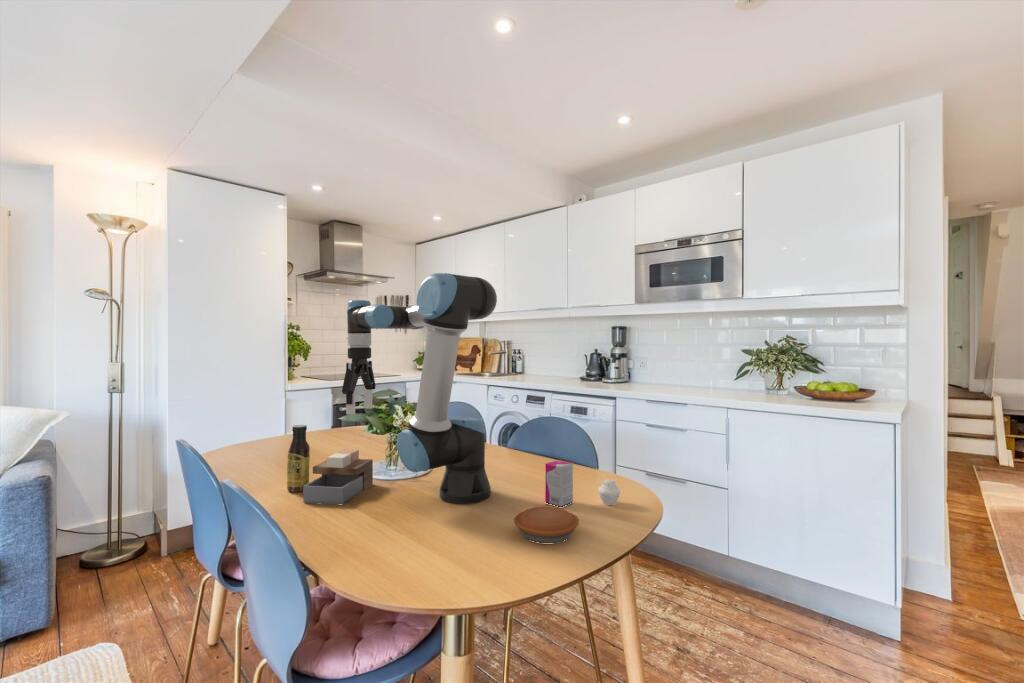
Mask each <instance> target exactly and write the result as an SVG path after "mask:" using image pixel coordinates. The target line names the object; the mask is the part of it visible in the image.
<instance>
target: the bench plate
mask: <svg viewBox="0 0 1024 683" xmlns="http://www.w3.org/2000/svg"><path fill="white" fill-rule="evenodd" d="M373 466H374V465H373V458H372V459H371V458H359V459H358V460H356V461H354V462H353V463H351V464H349V465H347V466H345V467H343V468H332V467H327V459H325V460H324V461H322V462H320V463H318V464H315V465H314V466H312V474H313V475H314V474H315V475H321V476H323V475H325V474H333V475H359V476H363V491H365V490H367V489H368V488H369V487H372V485H374V484H373V483H374V481H373V480H374V478H373V477H374V476H373V475H374V473H373V471H374V470H373V469H374V468H373ZM366 488H367V489H366Z"/></svg>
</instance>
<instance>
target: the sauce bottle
mask: <svg viewBox="0 0 1024 683" xmlns="http://www.w3.org/2000/svg"><path fill="white" fill-rule="evenodd" d="M307 427H308V426H307V424H296V425H295V424H294V425H293V426H292V428H291V429H292V430H291V431H292V440H291V444H290V446H289V448H288V449H289V450H288V452H287V467H286V468H287V470H286V474H287V475H286V476H287V477H286V486H287V487H286V488H287V491H288V492H291V493H294V492H295V493H299V491H300V492H303V486H304V485H306V484H308V483H310V459H311V457H310V456H311V455H310V444H309V443H308V442H307V429H308V428H307Z"/></svg>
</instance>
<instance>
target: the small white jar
mask: <svg viewBox="0 0 1024 683" xmlns="http://www.w3.org/2000/svg"><path fill="white" fill-rule="evenodd" d="M597 492H598V494H599V495H598V496H599V498H600V499H601V501H602V503H603V504H604V505H605V504H607V505H606V506H608V505H612V506H615V505H616V503H617V502H618V500H619V498H620V495H621V489H620V488H619V487H618V485H617V484H616V481H615V480H613V479H610V478H609V479H604V480H603V481H602V484H601V485H600V486H599V487H598V490H597ZM614 504H615V505H614Z"/></svg>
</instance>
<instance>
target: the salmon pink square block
mask: <svg viewBox="0 0 1024 683" xmlns="http://www.w3.org/2000/svg"><path fill="white" fill-rule="evenodd" d="M359 451H360V450H359V449H347V448H345V449H342V450H340V451H338V452H336V453H341V454H351V463H353V462H354V461H356V460H358V459H360V457H359V456H360V452H359Z"/></svg>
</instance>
